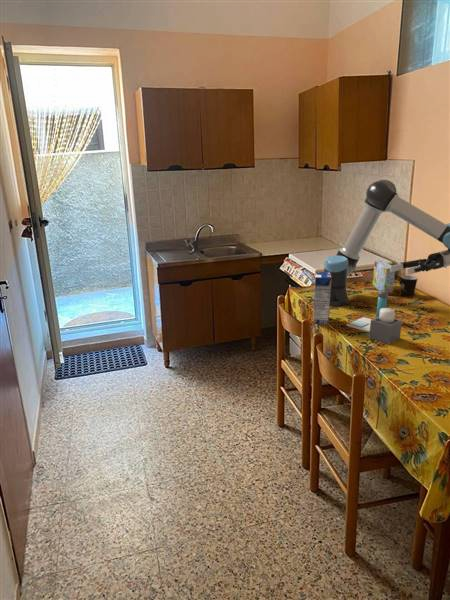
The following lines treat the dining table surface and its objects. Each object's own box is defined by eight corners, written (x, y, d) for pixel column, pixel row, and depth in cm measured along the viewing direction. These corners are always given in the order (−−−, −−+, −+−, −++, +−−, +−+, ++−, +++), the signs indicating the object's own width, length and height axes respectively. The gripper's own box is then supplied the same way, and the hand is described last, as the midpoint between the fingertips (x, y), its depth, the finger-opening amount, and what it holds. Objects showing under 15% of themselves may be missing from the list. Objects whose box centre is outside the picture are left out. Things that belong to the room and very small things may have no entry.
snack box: (393, 295, 246) (396, 268, 241) (383, 295, 246) (385, 268, 241) (381, 284, 266) (383, 259, 261) (371, 284, 266) (373, 259, 261)
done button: (375, 321, 186) (377, 310, 184) (383, 318, 190) (384, 307, 188) (389, 325, 182) (390, 313, 180) (396, 321, 186) (398, 310, 184)
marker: (373, 318, 210) (376, 291, 206) (378, 316, 213) (381, 289, 209) (382, 321, 207) (385, 293, 203) (386, 318, 210) (389, 291, 206)
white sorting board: (346, 325, 202) (346, 323, 202) (363, 318, 211) (363, 316, 211) (374, 334, 192) (375, 332, 192) (391, 326, 201) (391, 324, 201)
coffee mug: (416, 297, 240) (419, 279, 237) (399, 297, 242) (402, 279, 239) (412, 291, 251) (414, 274, 248) (396, 290, 253) (398, 273, 250)
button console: (369, 337, 188) (370, 320, 186) (380, 332, 194) (381, 314, 192) (389, 344, 182) (391, 325, 180) (399, 338, 188) (402, 320, 185)
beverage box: (312, 324, 204) (315, 277, 197) (313, 316, 214) (315, 271, 208) (328, 325, 203) (331, 278, 196) (327, 316, 213) (330, 271, 206)
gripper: (458, 270, 200) (416, 281, 196) (423, 265, 224) (385, 275, 220) (456, 253, 198) (413, 264, 195) (421, 251, 222) (383, 260, 219)
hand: (398, 270), depth 208 cm, fingers open, 13 cm apart
